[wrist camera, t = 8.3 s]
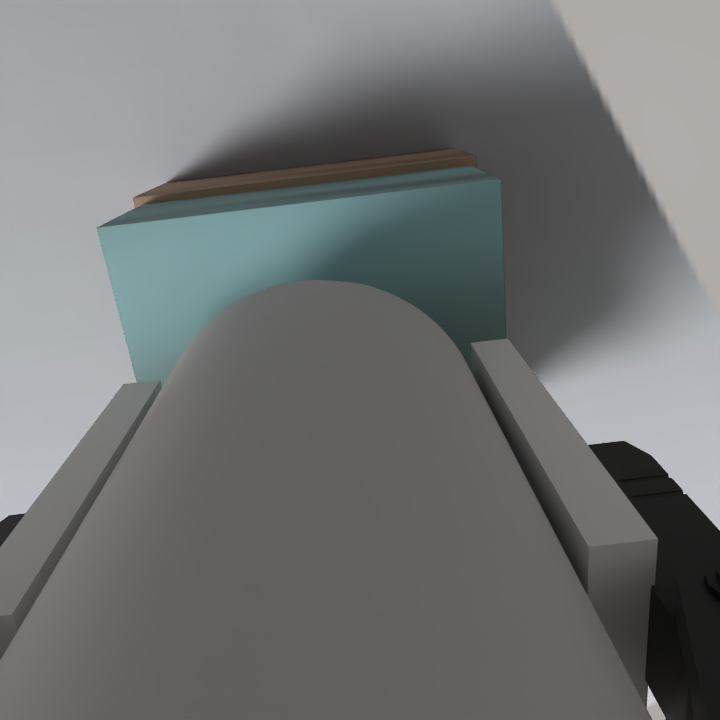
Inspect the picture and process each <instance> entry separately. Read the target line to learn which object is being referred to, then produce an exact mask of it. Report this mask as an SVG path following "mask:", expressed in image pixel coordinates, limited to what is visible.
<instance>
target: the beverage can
mask: <svg viewBox="0 0 720 720" xmlns="http://www.w3.org/2000/svg"><path fill="white" fill-rule="evenodd" d="M0 720H652V718H651V716H650V715H649V713H648V711H647V709H646V707H645V705H644V703H643V701H642V699H641V697H640V695H639V693H638V691H637V689H636V688H635V686H634V684H633V682H632V680H631V678H630V676H629V674H628V672H627V670H626V668H625V666H624V664H623V663H622V661H621V659H620V657H619V655H618V653H617V651H616V649H615V647H614V645H613V643H612V641H611V639H610V638H609V636H608V634H607V632H606V630H605V628H604V626H603V624H602V622H601V620H600V618H599V616H598V614H597V613H596V611H595V609H594V607H593V605H592V603H591V601H590V599H589V597H588V595H587V593H586V591H585V590H584V588H583V586H582V584H581V582H580V580H579V578H578V576H577V574H576V572H575V570H574V568H573V566H572V565H571V563H570V561H569V559H568V557H567V555H566V553H565V551H564V549H563V547H562V545H561V543H560V541H559V540H558V538H557V536H556V534H555V532H554V530H553V528H552V526H551V524H550V522H549V520H548V518H547V516H546V515H545V513H544V511H543V509H542V507H541V505H540V503H539V501H538V499H537V497H536V495H535V493H534V491H533V490H532V488H531V486H530V484H529V482H528V480H527V478H526V476H525V474H524V472H523V470H522V468H521V467H520V465H519V463H518V461H517V459H516V457H515V455H514V453H513V451H512V449H511V447H510V445H509V443H508V442H507V440H506V438H505V436H504V434H503V432H502V430H501V428H500V426H499V424H498V422H497V420H496V418H495V417H494V415H493V413H492V411H491V409H490V407H489V405H488V403H487V401H486V399H485V397H484V395H483V393H482V392H481V390H480V388H479V386H478V384H477V382H476V380H475V378H474V376H473V374H472V372H471V370H470V369H469V367H468V365H467V363H466V361H465V359H464V357H463V356H462V354H461V352H460V351H459V349H458V348H457V346H456V345H455V344H454V342H453V341H452V340H451V339H450V337H449V336H448V335H447V334H446V333H445V332H444V331H443V329H442V328H441V327H440V326H439V325H438V324H437V323H435V322H434V321H433V320H432V319H431V318H429V317H428V316H427V315H426V314H425V313H423V312H422V311H421V310H419V309H418V308H416V307H415V306H413V305H412V304H410V303H408V302H406V301H404V300H403V299H401V298H399V297H397V296H395V295H393V294H390V293H388V292H385V291H382V290H380V289H377V288H374V287H371V286H368V285H364V284H359V283H351V282H341V281H329V280H304V281H298V282H291V283H286V284H281V285H277V286H273V287H270V288H267V289H264V290H262V291H259V292H256V293H254V294H252V295H249V296H247V297H245V298H243V299H242V300H240V301H238V302H236V303H235V304H233V305H231V306H230V307H228V308H226V309H225V310H224V311H222V312H221V313H219V314H218V315H217V316H216V317H215V318H213V319H212V320H211V321H210V322H209V323H207V324H206V325H205V326H204V327H203V328H202V329H201V330H200V331H199V332H198V334H197V335H196V336H195V337H194V339H193V340H192V341H191V342H190V343H189V345H188V346H187V348H186V349H185V351H184V352H183V354H182V355H181V357H180V359H179V360H178V362H177V364H176V366H175V367H174V369H173V371H172V372H171V374H170V376H169V377H168V379H167V381H166V382H165V384H164V386H163V387H162V389H161V391H160V392H159V394H158V396H157V397H156V399H155V401H154V403H153V404H152V406H151V408H150V409H149V411H148V413H147V414H146V416H145V418H144V419H143V421H142V423H141V424H140V426H139V428H138V429H137V431H136V433H135V434H134V436H133V438H132V440H131V441H130V443H129V445H128V446H127V448H126V450H125V451H124V453H123V455H122V456H121V458H120V460H119V461H118V463H117V465H116V466H115V468H114V470H113V471H112V473H111V475H110V477H109V478H108V480H107V482H106V483H105V485H104V487H103V488H102V490H101V492H100V493H99V495H98V497H97V498H96V500H95V502H94V503H93V505H92V507H91V508H90V510H89V512H88V514H87V515H86V517H85V519H84V520H83V522H82V524H81V525H80V527H79V529H78V530H77V532H76V534H75V535H74V537H73V539H72V540H71V542H70V544H69V545H68V547H67V549H66V551H65V552H64V554H63V556H62V557H61V559H60V561H59V562H58V564H57V566H56V567H55V569H54V571H53V572H52V574H51V576H50V577H49V579H48V581H47V583H46V584H45V586H44V588H43V589H42V591H41V593H40V594H39V596H38V598H37V599H36V601H35V603H34V604H33V606H32V608H31V609H30V611H29V613H28V614H27V616H26V618H25V620H24V621H23V623H22V625H21V626H20V628H19V630H18V631H17V633H16V635H15V636H14V638H13V640H12V641H11V643H10V645H9V646H8V648H7V650H6V651H5V653H4V655H3V657H2V658H1V660H0Z"/></svg>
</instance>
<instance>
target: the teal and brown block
mask: <svg viewBox="0 0 720 720" xmlns="http://www.w3.org/2000/svg"><path fill="white" fill-rule="evenodd" d="M133 201H134V205H135V209H133V210H131V211H129V212H127V213H125V214H123V215H121V216H119V217H117V218H115V219H113V220H111V221H109V222H107V223H105V224H103V225H101V226H99V227H97V231H98V235H99V239H100V243H101V247H102V250H103V254H104V258H105V262H106V266H107V270H108V273H109V277H110V281H111V285H112V289H113V293H114V296H115V300H116V304H117V308H118V312H119V316H120V319H121V323H122V327H123V331H124V335H125V339H126V342H127V346H128V350H129V354H130V358H131V362H132V366H133V369H134V373H135V377H136V381H137V383H138V382H147V381H155V380H160V381H161V385H162V387H163V386H164V384H165V382H166V381H167V379H168V377H169V376H170V374H171V372H172V371H173V369H174V367H175V366H176V364H177V362H178V360H179V359H180V357H181V355H182V354H183V352H184V351H185V349H186V348H187V346H188V345H189V343H190V342H191V341H192V340H193V339H194V337H195V336H196V335H197V334H198V332H199V331H200V330H201V329H202V328H203V327H204V326H205V325H206V324H207V323H209V322H210V321H211V320H212V319H213V318H215V317H216V316H217V315H218V314H219V313H221V312H222V311H224V310H225V309H226V308H228V307H230V306H231V305H233V304H235V303H236V302H238V301H240V300H242V299H243V298H245V297H247V296H249V295H252V294H254V293H256V292H259V291H262V290H264V289H267V288H270V287H273V286H277V285H281V284H286V283H291V282H298V281H304V280H329V281H341V282H351V283H359V284H364V285H368V286H371V287H374V288H377V289H380V290H382V291H385V292H388V293H390V294H393V295H395V296H397V297H399V298H401V299H403V300H404V301H406V302H408V303H410V304H412V305H413V306H415V307H416V308H418V309H419V310H421V311H422V312H423V313H425V314H426V315H427V316H428V317H429V318H431V319H432V320H433V321H434V322H435V323H437V324H438V325H439V326H440V327H441V328H442V329H443V331H444V332H445V333H446V334H447V335H448V336H449V337H450V339H451V340H452V341H453V342H454V344H455V345H456V346H457V348H458V349H459V351H460V352H461V354H462V356H463V357H464V359H465V361H466V363H467V365H468V367H469V369H470V370H471V372H472V374H473V371H472V352H471V343H474V342H483V341H491V340H500V339H506V318H505V287H504V256H503V225H502V194H501V179H500V178H497V177H495V176H493V175H490V174H488V173H486V172H483V171H481V170H479V169H477V165H476V156H474V155H471V154H468V153H465V152H462V151H459V150H456V149H444V150H436V151H428V152H419V153H411V154H403V155H395V156H386V157H378V158H370V159H361V160H353V161H345V162H337V163H328V164H320V165H312V166H304V167H295V168H287V169H279V170H270V171H262V172H254V173H246V174H237V175H229V176H221V177H213V178H204V179H196V180H188V181H179V182H171V183H165V184H162V185H160V186H158V187H156V188H154V189H151V190H149V191H147V192H145V193H142V194H140V195H138V196H136V197H134V198H133Z"/></svg>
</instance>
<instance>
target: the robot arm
mask: <svg viewBox="0 0 720 720" xmlns="http://www.w3.org/2000/svg"><path fill="white" fill-rule="evenodd" d="M471 352H472V371H473V376H474V378H475V380H476V382H477V384H478V386H479V388H480V390H481V392H482V393H483V395H484V397H485V399H486V401H487V403H488V405H489V407H490V409H491V411H492V413H493V415H494V417H495V418H496V420H497V422H498V424H499V426H500V428H501V430H502V432H503V434H504V436H505V438H506V440H507V442H508V443H509V445H510V447H511V449H512V451H513V453H514V455H515V457H516V459H517V461H518V463H519V465H520V467H521V468H522V470H523V472H524V474H525V476H526V478H527V480H528V482H529V484H530V486H531V488H532V490H533V491H534V493H535V495H536V497H537V499H538V501H539V503H540V505H541V507H542V509H543V511H544V513H545V515H546V516H547V518H548V520H549V522H550V524H551V526H552V528H553V530H554V532H555V534H556V536H557V538H558V540H559V541H560V543H561V545H562V547H563V549H564V551H565V553H566V555H567V557H568V559H569V561H570V563H571V565H572V566H573V568H574V570H575V572H576V574H577V576H578V578H579V580H580V582H581V584H582V586H583V588H584V590H585V591H586V593H587V595H588V597H589V599H590V601H591V603H592V605H593V607H594V609H595V611H596V613H597V614H598V616H599V618H600V620H601V622H602V624H603V626H604V628H605V630H606V632H607V634H608V636H609V638H610V639H611V641H612V643H613V645H614V647H615V649H616V651H617V653H618V655H619V657H620V659H621V661H622V663H623V664H624V666H625V668H626V670H627V672H628V674H629V676H630V678H631V680H632V682H633V684H634V686H635V688H636V689H637V691H638V693H639V695H640V697H641V699H642V701H643V703H644V705H645V707H647V692H648V686H649V688H650V689H651V691H652V693H653V695H654V697H655V699H656V701H657V702H658V704H659V706H660V708H661V710H662V712H663V713H664V715H665V717H666V720H720V531H719V530H718V529H717V527H716V526H715V525H714V524H713V523H712V522H711V521H710V520H709V519H708V517H707V516H706V515H705V514H704V513H703V512H702V511H701V510H700V509H699V508H698V506H697V505H696V504H695V503H694V502H693V501H692V500H691V499H690V498H689V497H688V495H687V494H683V490H682V489H681V488H680V487H679V486H678V484H677V483H676V482H675V481H674V480H673V479H672V478H669V477H668V473H667V472H666V471H665V470H664V469H663V468H662V467H661V466H660V465H659V464H658V462H657V461H656V460H655V459H654V458H653V457H652V456H651V455H649V454H648V453H646V452H644V451H642V450H640V449H638V448H636V447H634V446H633V445H631V444H629V443H627V442H625V441H618V442H610V443H601V444H593V445H587V443H586V442H585V441H584V439H583V438H582V437H581V435H580V434H579V433H578V431H577V430H576V429H575V427H574V426H573V425H572V423H571V422H570V421H569V419H568V418H567V417H566V415H565V414H564V413H563V411H562V410H561V409H560V407H559V406H558V405H557V403H556V402H555V401H554V399H553V398H552V397H551V395H550V394H549V393H548V391H547V390H546V389H545V387H544V386H543V385H542V383H541V382H540V381H539V379H538V378H537V377H536V375H535V374H534V373H533V371H532V370H531V369H530V367H529V366H528V364H527V363H526V362H525V360H524V359H523V358H522V356H521V355H520V354H519V352H518V351H517V350H516V348H515V347H514V346H513V344H512V343H511V342H510V340H509V339H500V340H491V341H483V342H474V343H471ZM161 389H162V385H161V381H160V380H155V381H147V382H138V383H130V384H123V386H122V387H121V388H120V389H119V391H118V392H117V393H116V395H115V396H114V397H113V399H112V400H111V401H110V403H109V404H108V405H107V407H106V408H105V409H104V411H103V412H102V413H101V415H100V416H99V417H98V419H97V420H96V421H95V423H94V424H93V425H92V427H91V428H90V429H89V430H88V432H87V433H86V434H85V436H84V437H83V438H82V440H81V441H80V442H79V444H78V445H77V446H76V448H75V449H74V450H73V452H72V453H71V454H70V456H69V457H68V458H67V460H66V461H65V462H64V464H63V465H62V466H61V467H60V469H59V470H58V471H57V473H56V474H55V475H54V477H53V478H52V479H51V481H50V482H49V483H48V485H47V486H46V487H45V489H44V490H43V491H42V493H41V494H40V495H39V497H38V498H37V499H36V501H35V502H34V503H33V505H32V506H31V507H30V508H29V510H28V511H27V512H26V514H18V515H9V516H8V517H6V518H5V519H4V520H2V521H1V522H0V660H1V658H2V657H3V655H4V653H5V651H6V650H7V648H8V646H9V645H10V643H11V641H12V640H13V638H14V636H15V635H16V633H17V631H18V630H19V628H20V626H21V625H22V623H23V621H24V620H25V618H26V616H27V614H28V613H29V611H30V609H31V608H32V606H33V604H34V603H35V601H36V599H37V598H38V596H39V594H40V593H41V591H42V589H43V588H44V586H45V584H46V583H47V581H48V579H49V577H50V576H51V574H52V572H53V571H54V569H55V567H56V566H57V564H58V562H59V561H60V559H61V557H62V556H63V554H64V552H65V551H66V549H67V547H68V545H69V544H70V542H71V540H72V539H73V537H74V535H75V534H76V532H77V530H78V529H79V527H80V525H81V524H82V522H83V520H84V519H85V517H86V515H87V514H88V512H89V510H90V508H91V507H92V505H93V503H94V502H95V500H96V498H97V497H98V495H99V493H100V492H101V490H102V488H103V487H104V485H105V483H106V482H107V480H108V478H109V477H110V475H111V473H112V471H113V470H114V468H115V466H116V465H117V463H118V461H119V460H120V458H121V456H122V455H123V453H124V451H125V450H126V448H127V446H128V445H129V443H130V441H131V440H132V438H133V436H134V434H135V433H136V431H137V429H138V428H139V426H140V424H141V423H142V421H143V419H144V418H145V416H146V414H147V413H148V411H149V409H150V408H151V406H152V404H153V403H154V401H155V399H156V397H157V396H158V394H159V392H160V391H161Z"/></svg>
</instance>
